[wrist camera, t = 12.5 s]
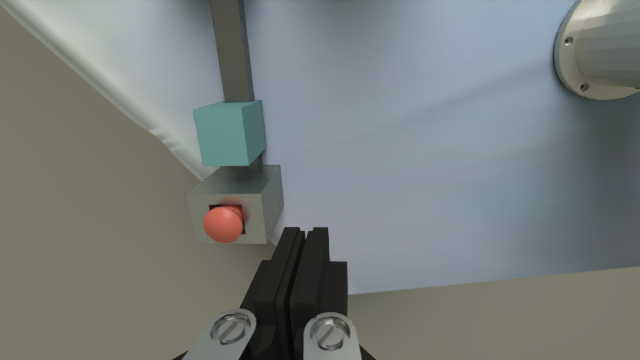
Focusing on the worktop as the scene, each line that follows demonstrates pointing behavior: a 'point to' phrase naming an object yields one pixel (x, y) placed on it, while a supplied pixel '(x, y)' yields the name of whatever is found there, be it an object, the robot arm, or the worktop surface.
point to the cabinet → (240, 201)
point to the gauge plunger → (224, 223)
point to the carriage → (230, 133)
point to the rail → (234, 56)
